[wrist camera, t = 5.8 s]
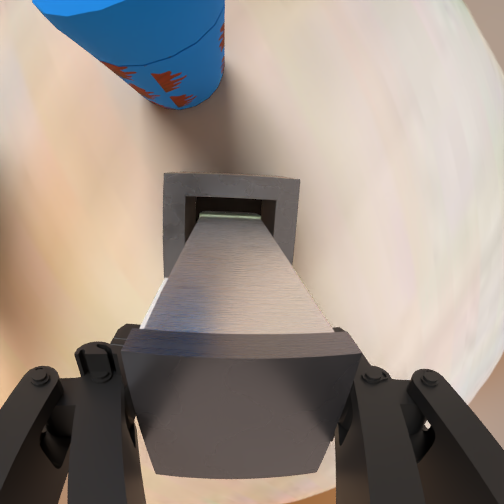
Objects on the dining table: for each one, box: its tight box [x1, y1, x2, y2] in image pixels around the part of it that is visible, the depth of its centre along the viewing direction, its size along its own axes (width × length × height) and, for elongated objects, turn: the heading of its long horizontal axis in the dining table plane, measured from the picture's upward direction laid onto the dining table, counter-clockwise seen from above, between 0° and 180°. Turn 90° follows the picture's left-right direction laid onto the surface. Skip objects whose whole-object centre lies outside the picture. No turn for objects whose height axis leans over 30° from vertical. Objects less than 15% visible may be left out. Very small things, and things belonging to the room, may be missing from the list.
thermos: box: [32, 0, 225, 110], centre depth 18 cm, size 11×11×25 cm
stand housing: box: [163, 172, 300, 278], centre depth 31 cm, size 12×12×11 cm
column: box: [121, 211, 362, 479], centre depth 17 cm, size 5×6×22 cm
